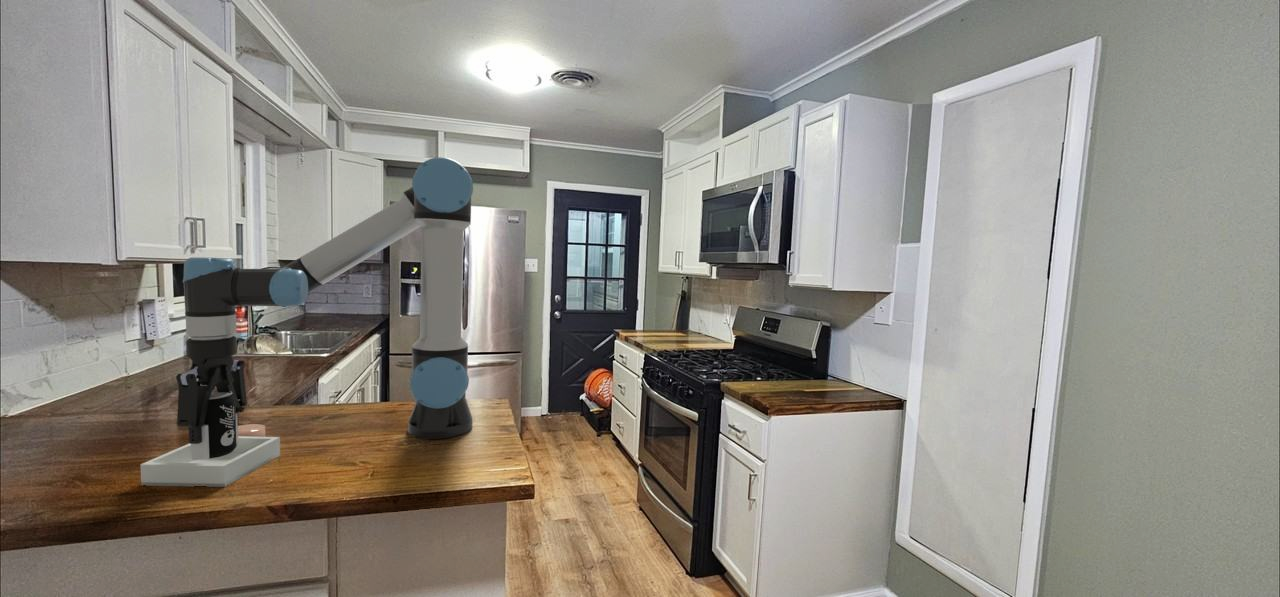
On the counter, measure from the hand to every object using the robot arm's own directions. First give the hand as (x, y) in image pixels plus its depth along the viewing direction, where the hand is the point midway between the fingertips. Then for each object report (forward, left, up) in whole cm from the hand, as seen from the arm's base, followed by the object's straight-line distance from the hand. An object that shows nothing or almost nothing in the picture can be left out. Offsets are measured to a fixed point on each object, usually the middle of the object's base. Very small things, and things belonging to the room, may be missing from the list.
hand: (215, 450), depth 100 cm
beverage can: (0, 0, -1) cm, 1 cm away
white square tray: (0, 0, -4) cm, 4 cm away
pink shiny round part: (+5, -14, -4) cm, 15 cm away
